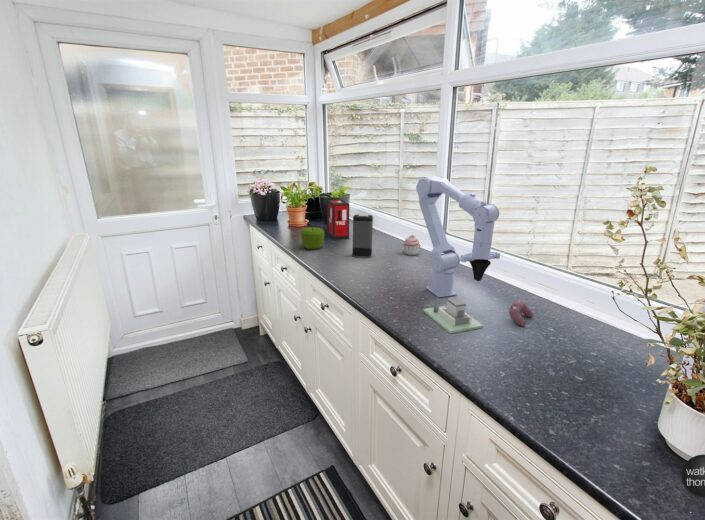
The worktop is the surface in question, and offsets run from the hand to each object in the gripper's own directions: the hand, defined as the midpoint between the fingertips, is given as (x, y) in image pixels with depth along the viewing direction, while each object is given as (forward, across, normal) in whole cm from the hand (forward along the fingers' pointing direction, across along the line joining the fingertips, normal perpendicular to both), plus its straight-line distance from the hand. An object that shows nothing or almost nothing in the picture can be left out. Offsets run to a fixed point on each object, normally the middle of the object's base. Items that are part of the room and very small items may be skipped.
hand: (477, 279), depth 127 cm
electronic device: (+10, -17, +66) cm, 69 cm away
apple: (+10, -37, +86) cm, 94 cm away
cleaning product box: (+10, -17, +107) cm, 109 cm away
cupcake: (+10, +8, +62) cm, 63 cm away
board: (+10, -13, -6) cm, 17 cm away
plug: (+9, -13, -7) cm, 17 cm away
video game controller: (+10, +8, -13) cm, 18 cm away
